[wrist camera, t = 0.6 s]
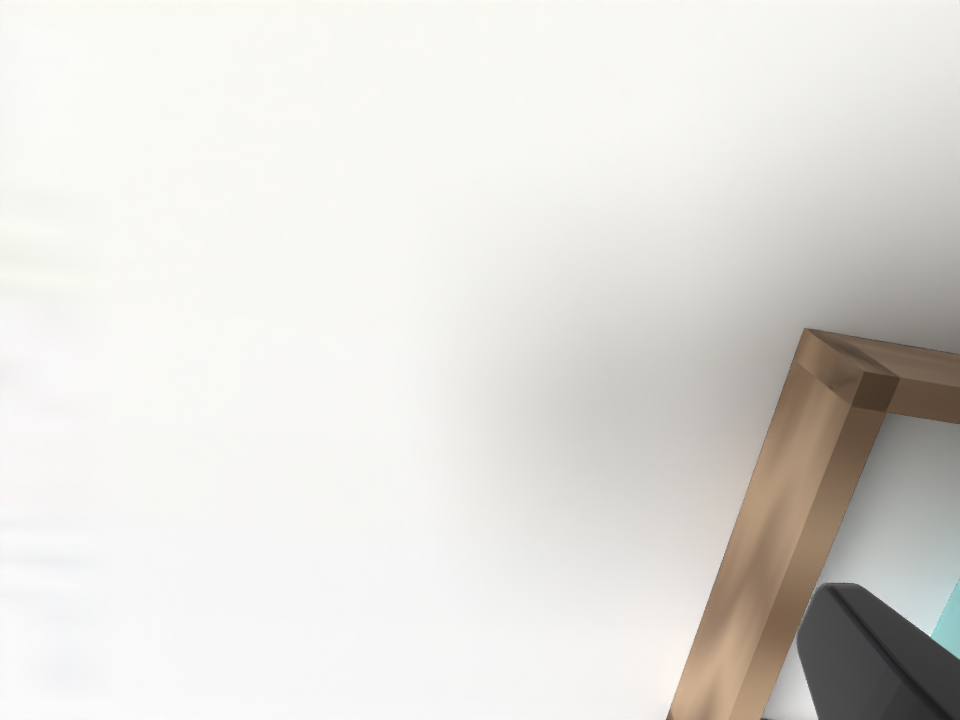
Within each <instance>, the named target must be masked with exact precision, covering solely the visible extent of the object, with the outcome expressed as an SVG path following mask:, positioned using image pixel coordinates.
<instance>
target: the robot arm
mask: <svg viewBox="0 0 960 720" xmlns="http://www.w3.org/2000/svg"><path fill="white" fill-rule="evenodd" d="M797 649H798V654H799V657H800V660H801V664H802V667H803V670H804V674H805V677H806V680H807V683H808V687H809V690H810V693H811V697H812V700H813V703H814V706H815V710H816V713H817V716H818V719H819V720H960V659H959V658H957V657H956V656H955V655H953V654H952V653H951V652H949V651H948V650H947V649H945V648H944V647H943V646H941V645H940V644H939V643H937V642H936V641H935V640H933V639H932V638H931V637H929V636H928V635H927V634H925V633H924V632H923V631H921V630H920V629H919V628H917V627H916V626H915V625H913V624H912V623H911V622H909V621H908V620H907V619H905V618H904V617H903V616H901V615H900V614H899V613H897V612H896V611H895V610H893V609H892V608H891V607H889V606H888V605H887V604H885V603H884V602H883V601H881V600H880V599H879V598H877V597H876V596H874V595H873V594H872V593H870V592H869V591H868V590H866V589H865V588H863V587H862V586H860V585H858V584H854V583H824V584H822V585H820V586H819V587H818V588H817V589H816V591H815V593H814V595H813V597H812V599H811V602H810V604H809V606H808V608H807V611H806V613H805V615H804V617H803V620H802V622H801V624H800V626H799V629H798V633H797Z"/></svg>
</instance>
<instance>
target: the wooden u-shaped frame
mask: <svg viewBox="0 0 960 720" xmlns="http://www.w3.org/2000/svg"><path fill="white" fill-rule="evenodd" d="M886 412H888V413H894V414H900V415H906V416H912V417H919V418H925V419H931V420H937V421H943V422H949V423H956V424H960V355H958V354H952V353H946V352H940V351H934V350H929V349H923V348H917V347H911V346H905V345H899V344H894V343H888V342H882V341H876V340H870V339H864V338H859V337H853V336H847V335H841V334H835V333H829V332H824V331H818V330H812V329H806V328H804V331H803V333H802V336H801V339H800V342H799V345H798V348H797V350H796V353H795V356H794V359H793V362H792V364H791V367H790V370H789V373H788V376H787V379H786V381H785V384H784V387H783V390H782V393H781V396H780V398H779V401H778V404H777V407H776V410H775V413H774V415H773V418H772V421H771V424H770V427H769V430H768V432H767V435H766V438H765V441H764V444H763V447H762V449H761V452H760V455H759V458H758V461H757V464H756V466H755V469H754V472H753V475H752V478H751V481H750V483H749V486H748V489H747V492H746V495H745V498H744V500H743V503H742V506H741V509H740V512H739V515H738V517H737V520H736V523H735V526H734V529H733V532H732V534H731V537H730V540H729V543H728V546H727V549H726V551H725V554H724V557H723V560H722V563H721V566H720V568H719V571H718V574H717V577H716V580H715V583H714V585H713V588H712V591H711V594H710V597H709V600H708V602H707V605H706V608H705V611H704V614H703V617H702V619H701V622H700V625H699V628H698V631H697V634H696V636H695V639H694V642H693V645H692V648H691V651H690V653H689V656H688V659H687V662H686V665H685V668H684V670H683V673H682V676H681V679H680V682H679V685H678V687H677V690H676V693H675V696H674V699H673V702H672V704H671V707H670V710H669V713H668V716H667V719H666V720H764V719H761V716H762V714H763V711H764V709H765V707H766V704H767V702H768V699H769V697H770V694H771V692H772V690H773V687H774V685H775V682H776V680H777V677H778V675H779V672H780V670H781V668H782V665H783V663H784V660H785V658H786V655H787V653H788V651H789V648H790V646H791V643H792V641H793V638H794V636H795V633H796V631H797V629H798V626H799V624H800V621H801V619H802V616H803V614H804V612H805V609H806V607H807V604H808V602H809V599H810V597H811V594H812V592H813V590H814V587H815V585H816V582H817V580H818V577H819V575H820V573H821V570H822V568H823V565H824V563H825V560H826V558H827V556H828V553H829V551H830V548H831V546H832V543H833V541H834V538H835V536H836V534H837V531H838V529H839V526H840V524H841V521H842V519H843V517H844V514H845V512H846V509H847V507H848V504H849V502H850V499H851V497H852V495H853V492H854V490H855V487H856V485H857V482H858V480H859V478H860V475H861V473H862V470H863V468H864V465H865V463H866V460H867V458H868V456H869V453H870V451H871V448H872V446H873V443H874V441H875V439H876V436H877V434H878V431H879V429H880V426H881V424H882V422H883V419H884V417H885V414H886Z"/></svg>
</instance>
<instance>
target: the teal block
mask: <svg viewBox="0 0 960 720" xmlns="http://www.w3.org/2000/svg"><path fill="white" fill-rule="evenodd" d="M931 638H932V639H933V640H935V641H936V642H937V643H939V644H940V645H941V646H943V647H944V648H945V649H947V650H948V651H949V652H951V653H952V654H953V655H955V656H956V657H957V658H959V659H960V578H959V580H958V582H957V584H956V586H955V588H954V590H953V592H952V594H951V597H950V599H949V601H948V603H947V605H946V607H945V609H944V611H943V613H942V615H941V617H940V619H939V621H938V623H937V625H936V627H935V629H934V631H933V633H932V635H931Z"/></svg>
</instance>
